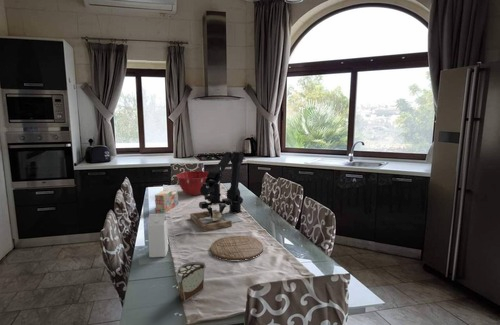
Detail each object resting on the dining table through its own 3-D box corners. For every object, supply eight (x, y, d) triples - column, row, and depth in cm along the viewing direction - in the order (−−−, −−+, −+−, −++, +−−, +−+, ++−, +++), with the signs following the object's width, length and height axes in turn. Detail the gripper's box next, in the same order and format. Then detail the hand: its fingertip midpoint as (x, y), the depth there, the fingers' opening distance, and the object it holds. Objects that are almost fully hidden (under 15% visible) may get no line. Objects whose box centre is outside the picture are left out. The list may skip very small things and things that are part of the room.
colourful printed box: (170, 203, 223) (169, 187, 221) (178, 204, 222) (177, 187, 220) (155, 213, 202) (154, 194, 200) (164, 213, 201) (163, 195, 199)
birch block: (218, 217, 189) (217, 210, 189) (221, 219, 185) (221, 213, 184) (210, 218, 187) (210, 211, 186) (213, 220, 183) (213, 214, 182)
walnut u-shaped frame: (216, 214, 199) (216, 209, 198) (231, 226, 178) (231, 221, 177) (190, 218, 191) (190, 213, 191) (203, 231, 170) (203, 226, 170)
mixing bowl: (210, 197, 237) (209, 178, 235) (172, 197, 238) (172, 178, 235) (214, 188, 265) (214, 171, 263) (181, 188, 266) (180, 171, 263)
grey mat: (232, 213, 199) (232, 213, 199) (243, 220, 186) (243, 220, 186) (219, 216, 195) (219, 215, 195) (229, 223, 182) (229, 222, 182)
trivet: (270, 257, 140) (270, 253, 139) (215, 265, 133) (215, 261, 132) (254, 236, 163) (254, 233, 163) (206, 242, 156) (206, 238, 156)
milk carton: (152, 250, 146) (150, 211, 143) (168, 250, 147) (166, 211, 144) (149, 257, 139) (147, 217, 136) (165, 257, 140) (163, 216, 137)
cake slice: (194, 282, 119) (193, 258, 117) (206, 287, 115) (205, 262, 114) (169, 298, 109) (167, 271, 107) (181, 304, 105) (180, 276, 104)
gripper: (224, 187, 195) (224, 211, 197) (195, 190, 186) (196, 215, 189) (231, 191, 185) (232, 216, 187) (201, 195, 176) (202, 221, 179)
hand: (215, 217), depth 186 cm, fingers closed on birch block, 5 cm apart
